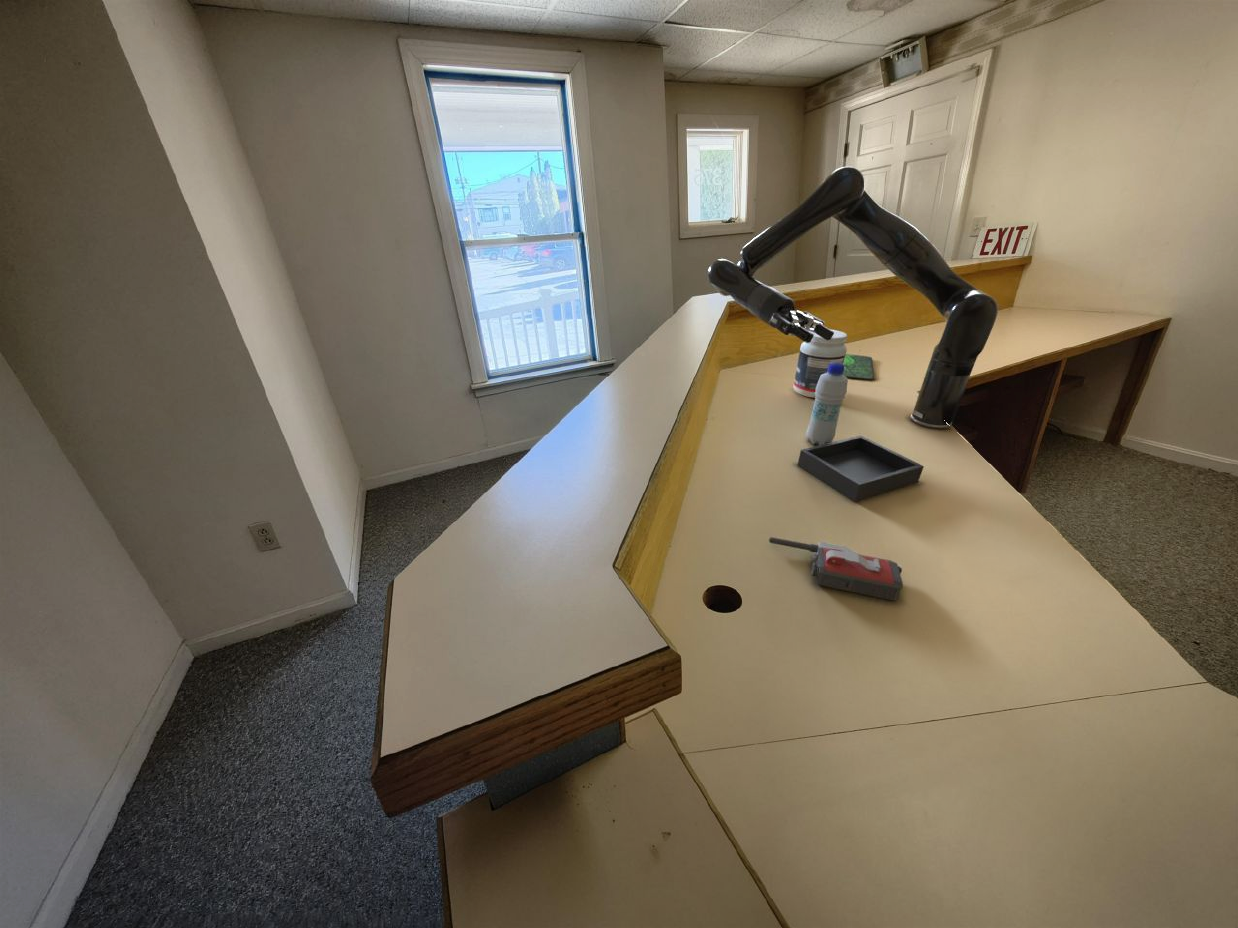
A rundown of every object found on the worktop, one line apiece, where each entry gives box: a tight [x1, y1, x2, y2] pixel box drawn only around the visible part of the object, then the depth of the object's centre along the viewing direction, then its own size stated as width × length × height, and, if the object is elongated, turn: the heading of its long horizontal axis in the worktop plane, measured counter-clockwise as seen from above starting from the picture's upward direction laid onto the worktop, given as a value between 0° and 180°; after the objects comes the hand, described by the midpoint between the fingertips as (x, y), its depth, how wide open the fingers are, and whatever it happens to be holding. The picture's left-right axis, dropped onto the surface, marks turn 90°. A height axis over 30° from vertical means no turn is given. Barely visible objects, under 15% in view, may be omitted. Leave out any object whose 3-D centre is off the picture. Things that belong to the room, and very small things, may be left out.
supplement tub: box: [792, 329, 848, 399], centre depth 137 cm, size 13×13×18 cm
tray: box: [797, 435, 925, 503], centre depth 98 cm, size 18×16×4 cm
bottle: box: [806, 363, 849, 446], centre depth 107 cm, size 7×7×20 cm
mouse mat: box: [843, 353, 875, 381], centre depth 165 cm, size 27×22×1 cm
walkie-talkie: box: [768, 536, 903, 601], centre depth 72 cm, size 9×4×20 cm
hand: (821, 338), depth 104 cm, fingers open, 8 cm apart
